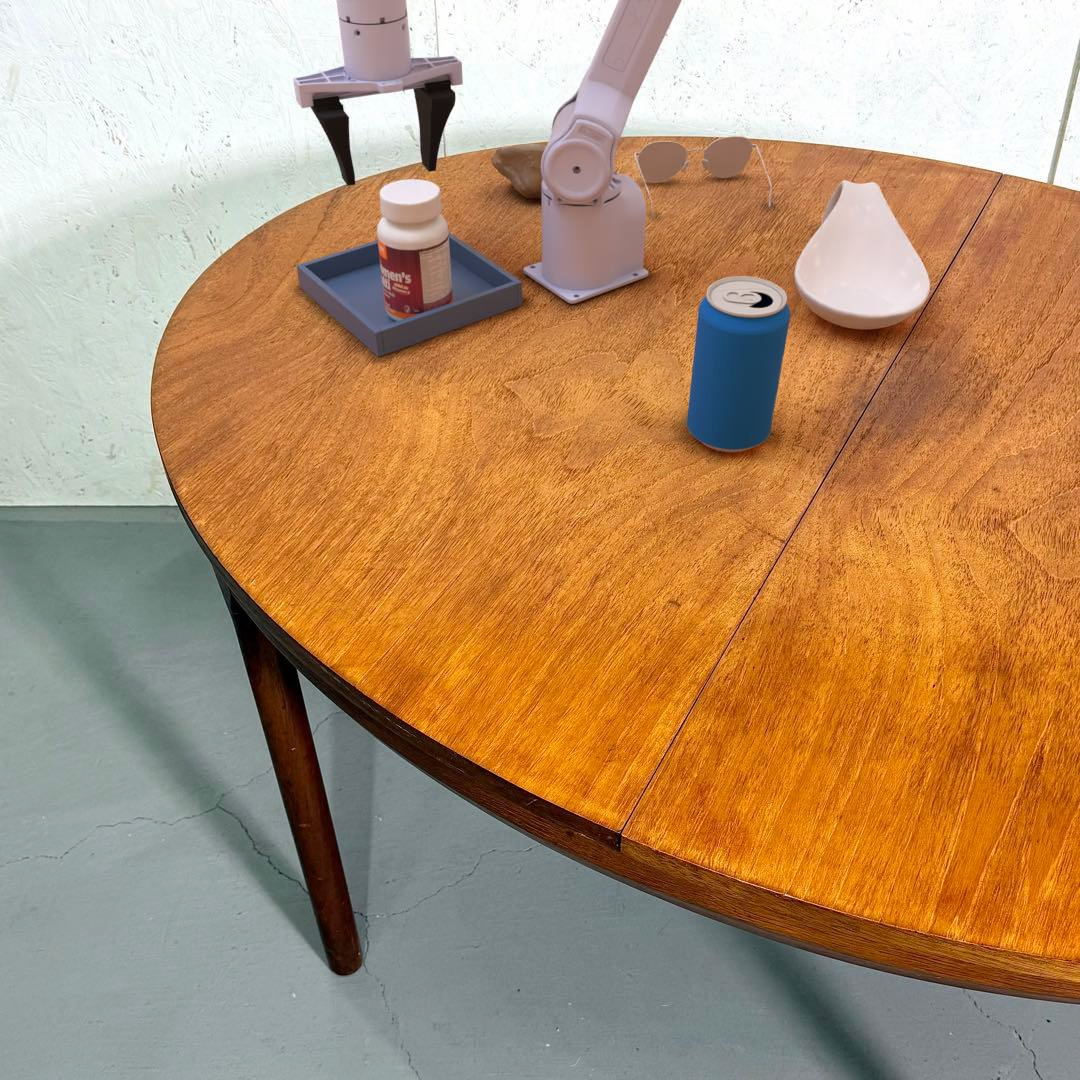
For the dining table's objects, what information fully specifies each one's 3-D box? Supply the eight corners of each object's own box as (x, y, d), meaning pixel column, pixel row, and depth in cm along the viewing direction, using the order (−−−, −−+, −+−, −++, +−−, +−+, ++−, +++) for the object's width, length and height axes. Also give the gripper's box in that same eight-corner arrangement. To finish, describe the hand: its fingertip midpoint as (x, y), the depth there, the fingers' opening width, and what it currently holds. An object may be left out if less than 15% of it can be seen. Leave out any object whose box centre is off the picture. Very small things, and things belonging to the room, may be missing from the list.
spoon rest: (928, 353, 91) (949, 277, 87) (790, 344, 93) (803, 268, 88) (899, 231, 109) (915, 162, 104) (783, 224, 110) (793, 156, 105)
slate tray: (436, 244, 107) (435, 222, 106) (522, 305, 98) (522, 281, 96) (300, 288, 101) (296, 264, 99) (378, 357, 92) (375, 332, 90)
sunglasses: (750, 175, 120) (758, 134, 116) (772, 218, 114) (781, 177, 111) (630, 184, 118) (634, 142, 114) (646, 228, 113) (651, 186, 109)
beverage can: (767, 462, 80) (791, 322, 72) (681, 453, 81) (696, 313, 73) (771, 414, 85) (794, 277, 77) (690, 405, 86) (704, 269, 78)
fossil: (595, 146, 111) (503, 134, 108) (595, 187, 111) (503, 176, 108) (567, 176, 120) (482, 165, 117) (567, 214, 120) (481, 205, 117)
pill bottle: (371, 313, 96) (356, 192, 89) (419, 287, 100) (409, 169, 92) (419, 335, 93) (408, 213, 86) (467, 308, 97) (461, 188, 89)
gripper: (298, 39, 84) (322, 204, 93) (471, 17, 88) (478, 177, 97) (278, 15, 88) (303, 174, 97) (443, -5, 93) (452, 149, 102)
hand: (389, 174), depth 97 cm, fingers open, 7 cm apart
